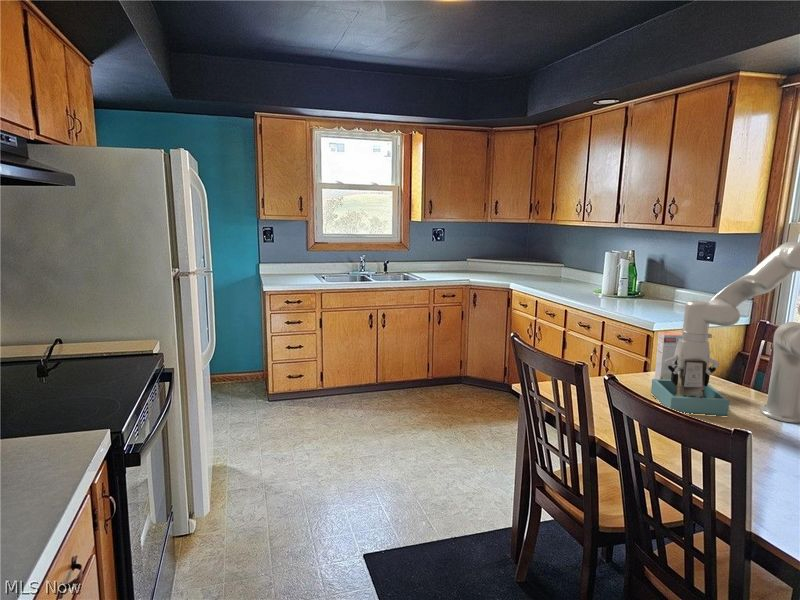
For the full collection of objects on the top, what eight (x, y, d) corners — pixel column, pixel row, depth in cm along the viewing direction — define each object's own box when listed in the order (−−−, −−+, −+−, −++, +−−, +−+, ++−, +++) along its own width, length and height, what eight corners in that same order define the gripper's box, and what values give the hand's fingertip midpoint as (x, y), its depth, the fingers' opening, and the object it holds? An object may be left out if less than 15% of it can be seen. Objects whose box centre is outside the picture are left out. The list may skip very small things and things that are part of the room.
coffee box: (702, 408, 168) (707, 363, 165) (681, 406, 170) (686, 361, 167) (694, 398, 176) (699, 355, 173) (674, 396, 178) (679, 354, 175)
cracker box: (690, 382, 195) (695, 331, 191) (697, 387, 190) (703, 335, 186) (653, 381, 197) (658, 330, 193) (659, 386, 191) (664, 334, 187)
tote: (702, 396, 181) (704, 381, 180) (727, 417, 163) (729, 400, 162) (650, 394, 183) (652, 378, 182) (669, 414, 166) (671, 397, 165)
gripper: (716, 334, 171) (710, 381, 174) (663, 333, 173) (658, 379, 177) (727, 340, 164) (721, 389, 167) (672, 339, 166) (667, 387, 169)
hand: (689, 384), depth 172 cm, fingers open, 9 cm apart
